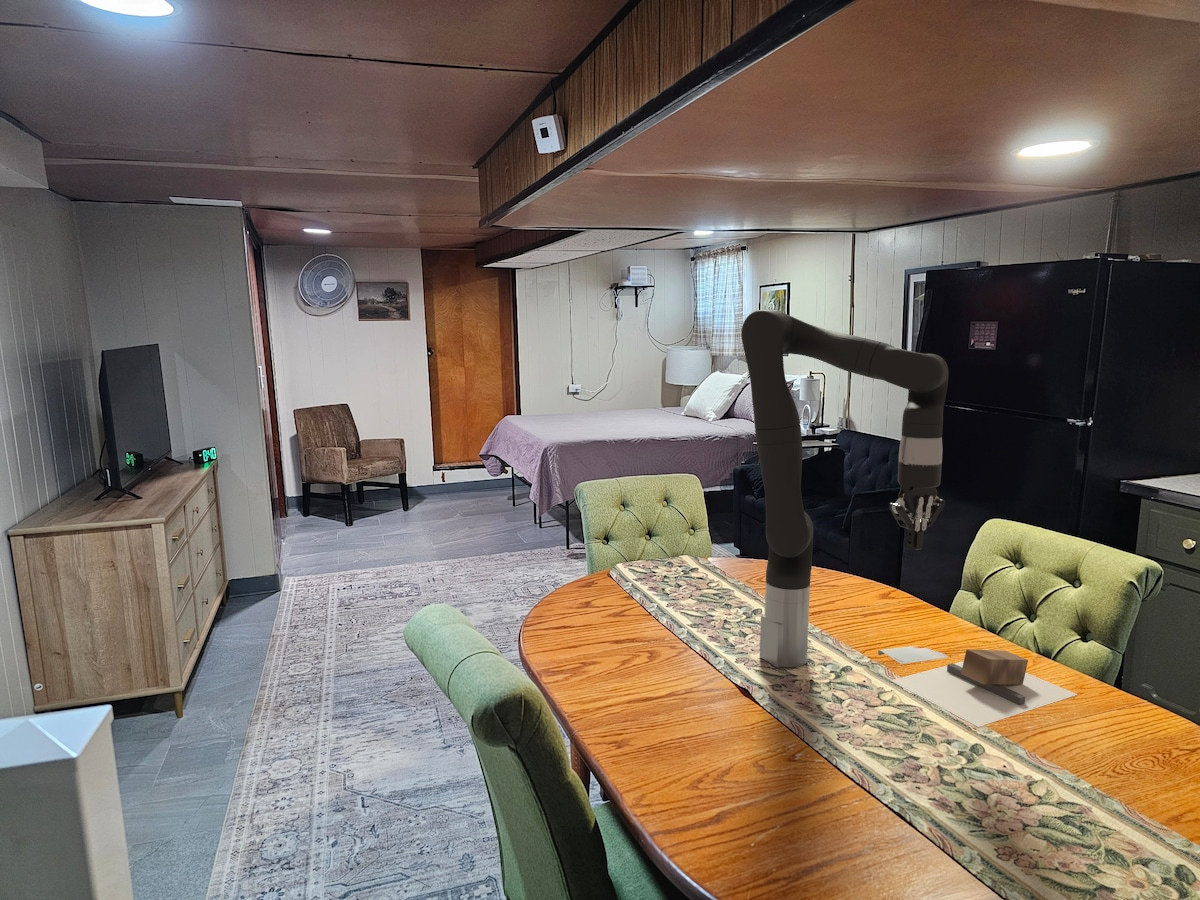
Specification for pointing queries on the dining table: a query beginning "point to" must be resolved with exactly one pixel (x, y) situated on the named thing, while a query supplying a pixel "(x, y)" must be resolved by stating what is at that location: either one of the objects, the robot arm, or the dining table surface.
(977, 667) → the walnut block
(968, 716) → the grey board
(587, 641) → the dining table surface
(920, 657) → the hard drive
